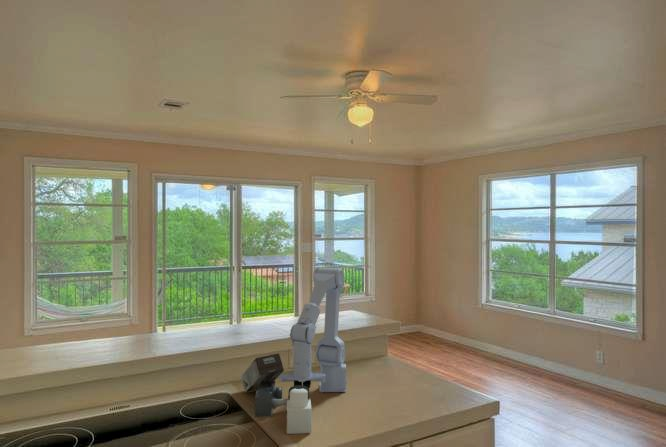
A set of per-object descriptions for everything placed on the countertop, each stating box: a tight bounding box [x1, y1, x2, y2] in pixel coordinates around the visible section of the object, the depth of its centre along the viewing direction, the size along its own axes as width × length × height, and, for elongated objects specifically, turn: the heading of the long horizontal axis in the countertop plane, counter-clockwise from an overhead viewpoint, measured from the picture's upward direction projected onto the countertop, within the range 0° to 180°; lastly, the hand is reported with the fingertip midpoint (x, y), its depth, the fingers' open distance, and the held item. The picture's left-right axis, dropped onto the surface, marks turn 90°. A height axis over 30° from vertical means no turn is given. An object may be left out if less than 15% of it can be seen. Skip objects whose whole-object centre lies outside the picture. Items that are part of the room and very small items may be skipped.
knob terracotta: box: [272, 394, 289, 407], centre depth 144 cm, size 9×4×4 cm, turn 92°
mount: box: [254, 380, 277, 418], centre depth 147 cm, size 5×14×6 cm, turn 2°
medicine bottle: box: [285, 384, 312, 435], centre depth 132 cm, size 7×7×12 cm
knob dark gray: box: [255, 386, 283, 399], centre depth 151 cm, size 9×4×4 cm, turn 92°
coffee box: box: [240, 353, 285, 394], centre depth 158 cm, size 9×6×16 cm
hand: (302, 403), depth 144 cm, fingers closed
